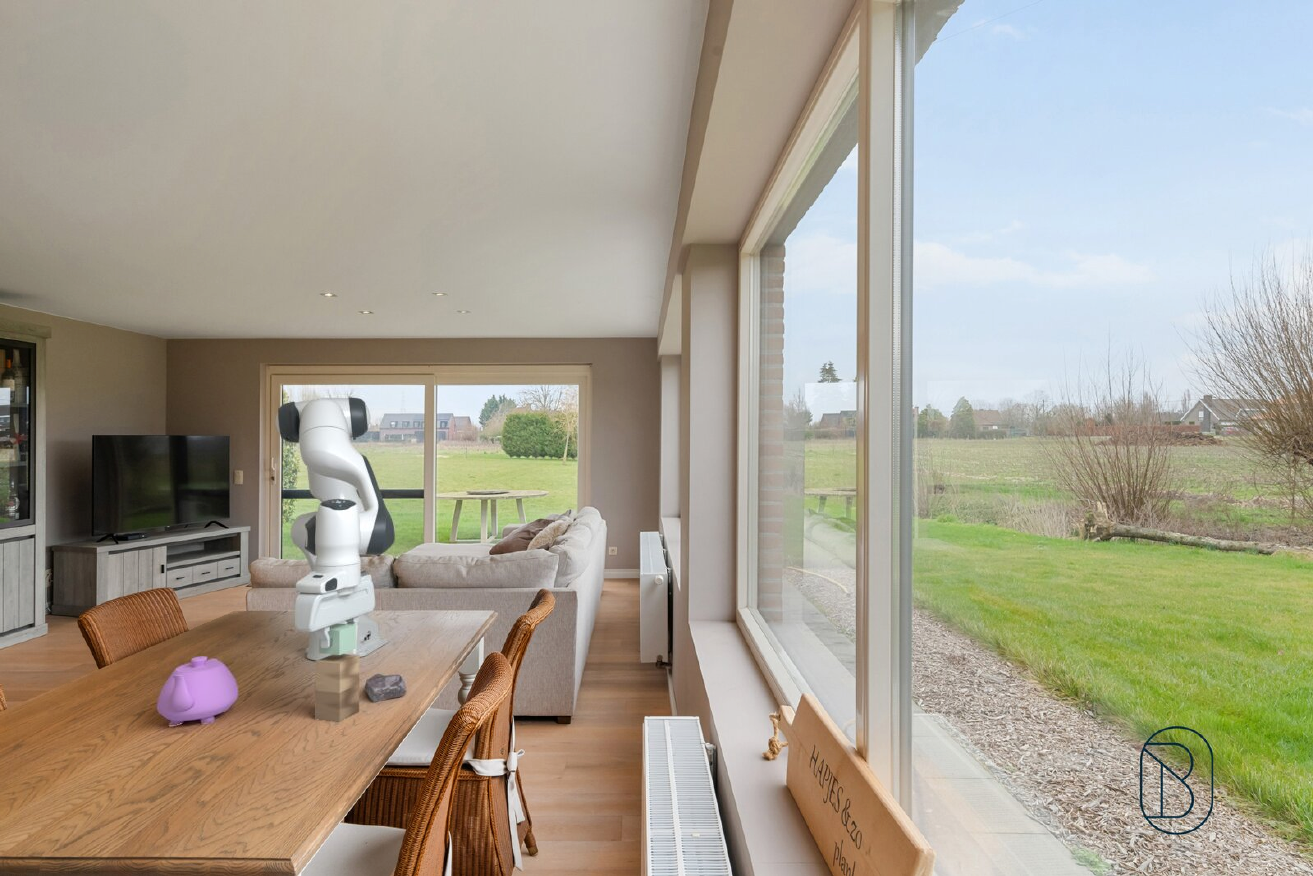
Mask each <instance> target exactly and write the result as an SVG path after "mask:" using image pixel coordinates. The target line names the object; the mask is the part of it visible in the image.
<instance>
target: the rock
mask: <svg viewBox="0 0 1313 876" xmlns="http://www.w3.org/2000/svg"><path fill="white" fill-rule="evenodd" d="M406 685H407V684H406V681H405V678H404V677H403V675H402V674H399V673H398V674H387V675H386V674H381V673H376V674H374V675H372V676H371V677H369V678H367V679H366V681H365V684H364V689H365V691H366V692H367V695H368V697H369V699H370V700H371V701H372V702H373V703H378V702H383V701H386V700H389V699H395V698H400V697H403V696H404V695H406V693H407V692H408V691H407V686H406Z"/></svg>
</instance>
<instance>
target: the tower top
mask: <svg viewBox="0 0 1313 876" xmlns="http://www.w3.org/2000/svg"><path fill="white" fill-rule="evenodd" d="M314 661H315V662H314V663H315V664H314V674H315V675H314V691H315V690H316V691H325V692H335V693H341V692H343V691H345V690H347V689H349V688H351V687H353V686H355V685H357V684H359V685H360V655H351V654H341V655H330V656H327V657H325V658H322V659H320V660H314Z"/></svg>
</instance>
